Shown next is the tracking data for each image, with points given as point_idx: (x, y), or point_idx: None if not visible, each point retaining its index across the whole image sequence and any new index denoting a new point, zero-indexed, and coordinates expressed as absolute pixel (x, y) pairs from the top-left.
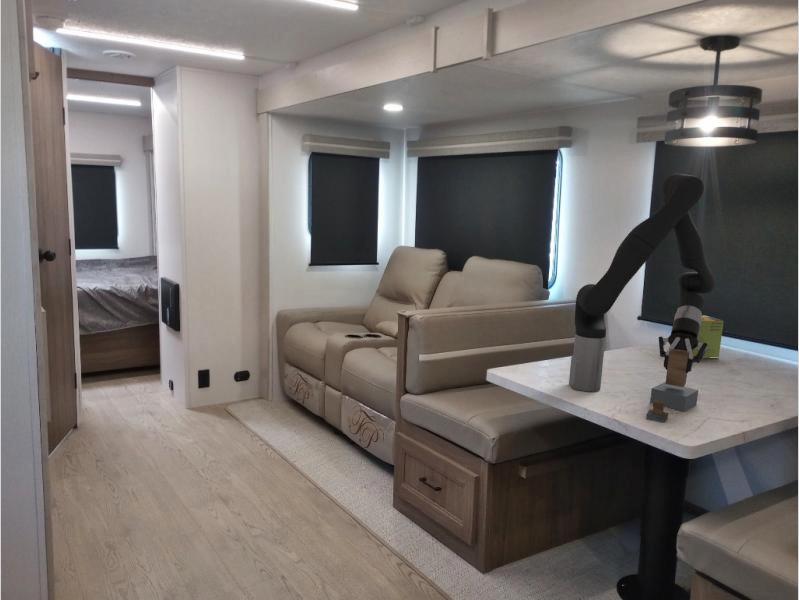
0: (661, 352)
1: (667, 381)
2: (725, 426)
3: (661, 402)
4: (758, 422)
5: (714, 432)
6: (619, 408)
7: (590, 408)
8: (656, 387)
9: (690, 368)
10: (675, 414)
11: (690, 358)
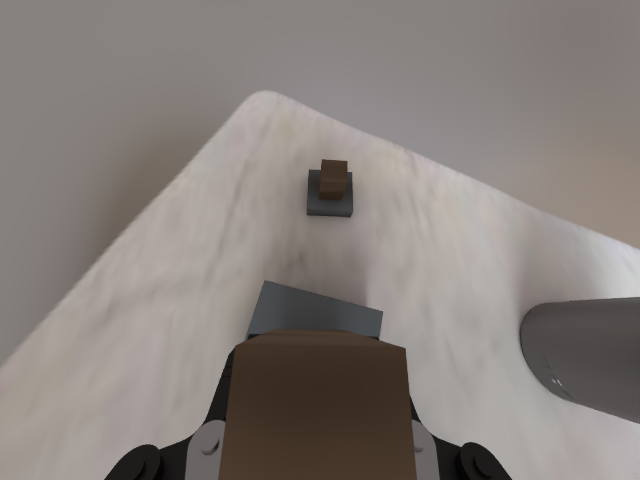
0: (470, 442)
1: (340, 330)
2: (171, 232)
3: (327, 164)
4: (58, 329)
5: (204, 176)
6: (417, 217)
7: (465, 181)
8: (371, 335)
9: (233, 350)
10: (292, 253)
11: (218, 427)
